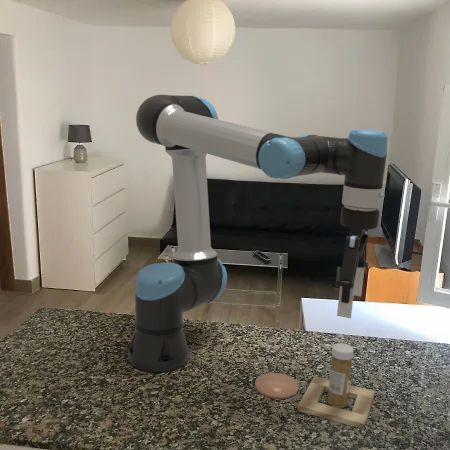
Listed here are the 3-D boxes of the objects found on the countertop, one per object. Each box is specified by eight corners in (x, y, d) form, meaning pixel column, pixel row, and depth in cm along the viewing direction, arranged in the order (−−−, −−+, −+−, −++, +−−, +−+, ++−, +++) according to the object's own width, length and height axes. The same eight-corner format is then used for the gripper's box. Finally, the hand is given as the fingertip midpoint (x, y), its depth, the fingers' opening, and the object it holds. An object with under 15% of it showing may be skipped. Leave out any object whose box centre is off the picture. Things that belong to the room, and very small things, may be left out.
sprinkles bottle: (352, 405, 115) (358, 349, 112) (337, 411, 112) (343, 353, 109) (336, 395, 118) (342, 340, 115) (322, 401, 116) (327, 345, 113)
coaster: (248, 391, 118) (248, 388, 118) (263, 372, 127) (263, 369, 127) (291, 403, 114) (291, 400, 114) (303, 382, 123) (303, 379, 123)
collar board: (297, 410, 112) (297, 405, 112) (314, 380, 124) (314, 376, 124) (363, 429, 106) (364, 424, 106) (374, 396, 119) (374, 391, 119)
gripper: (371, 221, 94) (358, 331, 98) (386, 199, 116) (375, 290, 121) (329, 215, 96) (319, 322, 101) (352, 196, 119) (342, 284, 124)
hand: (349, 305), depth 111 cm, fingers open, 13 cm apart
